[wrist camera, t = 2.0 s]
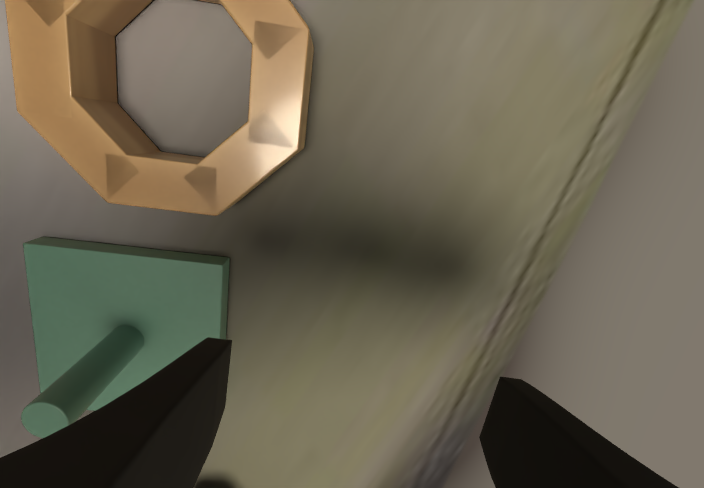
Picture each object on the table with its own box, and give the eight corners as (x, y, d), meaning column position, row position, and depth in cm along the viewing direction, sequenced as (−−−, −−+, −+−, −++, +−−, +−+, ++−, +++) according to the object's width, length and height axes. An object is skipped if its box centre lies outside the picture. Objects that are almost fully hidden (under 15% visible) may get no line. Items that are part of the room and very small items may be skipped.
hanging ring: (77, 183, 17) (25, 193, 14) (58, -81, 14) (-11, -135, 12) (298, 211, 18) (291, 225, 15) (321, -34, 15) (318, -73, 12)
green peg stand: (57, 391, 20) (-70, 509, 14) (42, 236, 18) (-122, 292, 11) (223, 404, 21) (174, 522, 15) (229, 257, 19) (174, 321, 12)
